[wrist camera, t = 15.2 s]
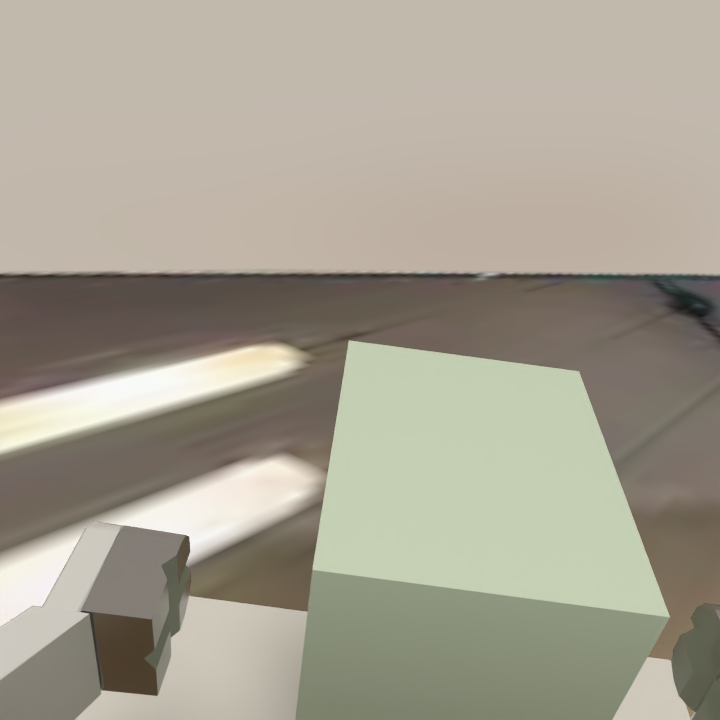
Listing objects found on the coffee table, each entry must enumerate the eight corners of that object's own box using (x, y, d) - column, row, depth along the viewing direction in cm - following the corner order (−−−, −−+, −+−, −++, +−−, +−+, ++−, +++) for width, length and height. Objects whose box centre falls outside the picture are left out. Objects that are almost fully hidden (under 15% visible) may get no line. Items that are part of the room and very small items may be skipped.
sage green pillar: (267, 965, 14) (312, 570, 8) (300, 724, 18) (348, 340, 12) (460, 989, 14) (669, 616, 8) (450, 744, 18) (578, 371, 12)
